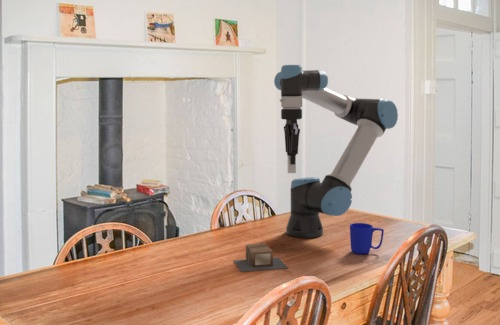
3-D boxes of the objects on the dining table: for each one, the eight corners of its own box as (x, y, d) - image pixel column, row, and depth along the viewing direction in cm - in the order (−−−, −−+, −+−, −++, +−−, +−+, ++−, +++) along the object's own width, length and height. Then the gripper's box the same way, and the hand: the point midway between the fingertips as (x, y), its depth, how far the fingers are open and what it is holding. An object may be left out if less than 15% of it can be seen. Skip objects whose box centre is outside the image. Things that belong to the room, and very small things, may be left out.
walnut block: (245, 244, 200) (252, 252, 190) (265, 243, 201) (273, 251, 192) (245, 258, 201) (252, 267, 191) (265, 257, 202) (272, 265, 192)
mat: (233, 261, 198) (233, 260, 198) (278, 258, 202) (278, 257, 202) (241, 271, 187) (241, 271, 187) (288, 268, 191) (288, 267, 191)
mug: (383, 256, 204) (384, 229, 203) (348, 254, 206) (349, 227, 205) (382, 250, 212) (383, 224, 211) (349, 248, 214) (350, 222, 213)
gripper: (276, 107, 213) (277, 170, 216) (286, 109, 200) (286, 176, 203) (296, 107, 214) (296, 169, 217) (307, 108, 201) (306, 175, 205)
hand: (291, 172), depth 210 cm, fingers closed
